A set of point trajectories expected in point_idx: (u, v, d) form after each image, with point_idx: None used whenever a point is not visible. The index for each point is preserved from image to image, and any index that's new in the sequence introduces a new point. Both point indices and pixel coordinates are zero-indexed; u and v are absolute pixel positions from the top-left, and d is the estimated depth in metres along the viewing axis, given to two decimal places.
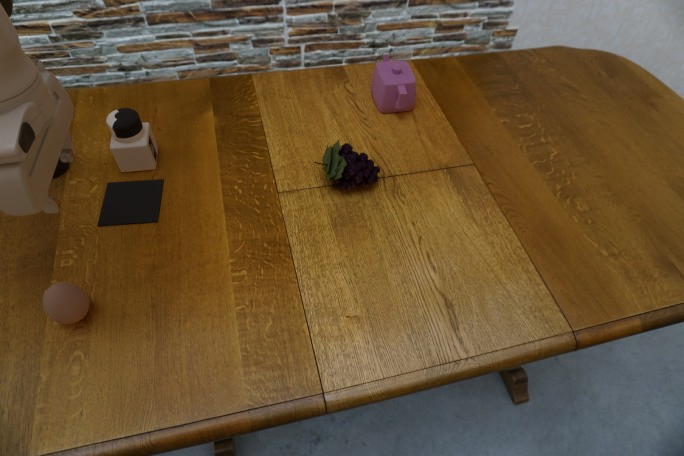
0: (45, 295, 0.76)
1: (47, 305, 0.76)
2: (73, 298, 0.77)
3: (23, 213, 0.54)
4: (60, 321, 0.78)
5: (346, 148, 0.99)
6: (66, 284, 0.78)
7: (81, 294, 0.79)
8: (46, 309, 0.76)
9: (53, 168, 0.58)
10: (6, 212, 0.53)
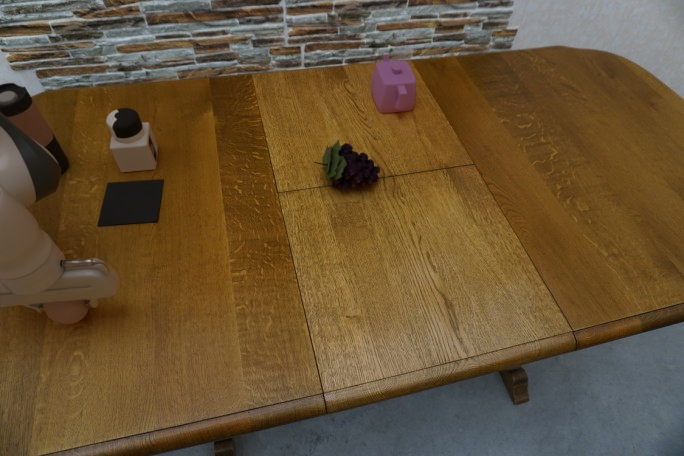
0: None
1: (47, 305, 0.76)
2: None
3: None
4: (60, 321, 0.78)
5: (346, 148, 0.99)
6: None
7: None
8: (46, 309, 0.76)
9: (35, 302, 0.75)
10: None
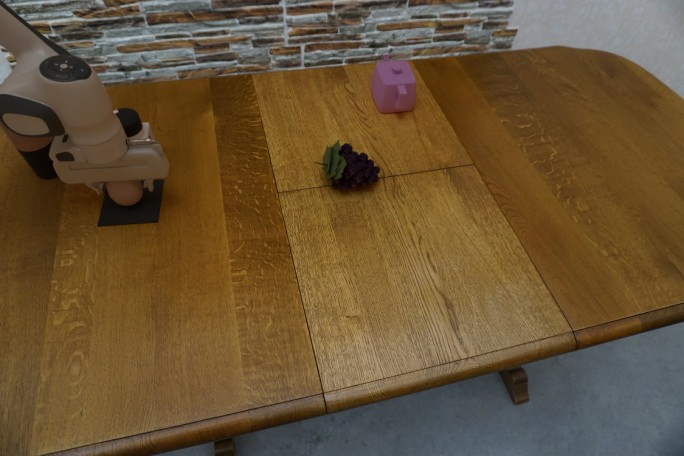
0: None
1: (111, 184, 0.92)
2: (132, 180, 0.93)
3: None
4: (120, 200, 0.94)
5: (346, 148, 0.99)
6: None
7: None
8: (110, 188, 0.92)
9: (101, 180, 0.90)
10: None
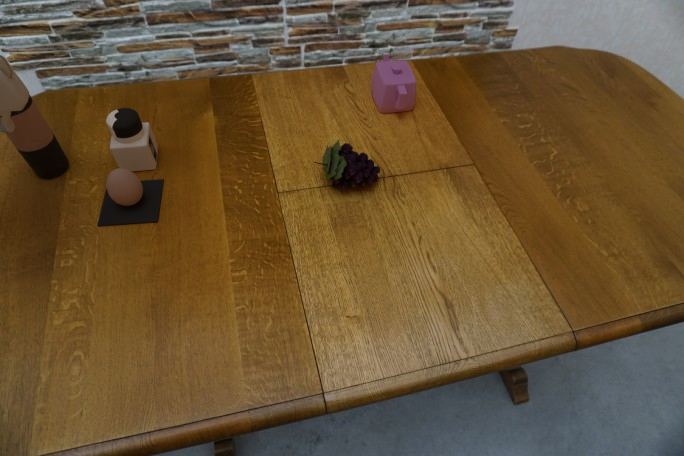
0: (109, 176, 0.92)
1: (111, 184, 0.92)
2: (132, 180, 0.93)
3: None
4: (120, 200, 0.94)
5: (346, 148, 0.99)
6: (126, 169, 0.93)
7: (137, 179, 0.95)
8: (110, 188, 0.92)
9: None
10: None
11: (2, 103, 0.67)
